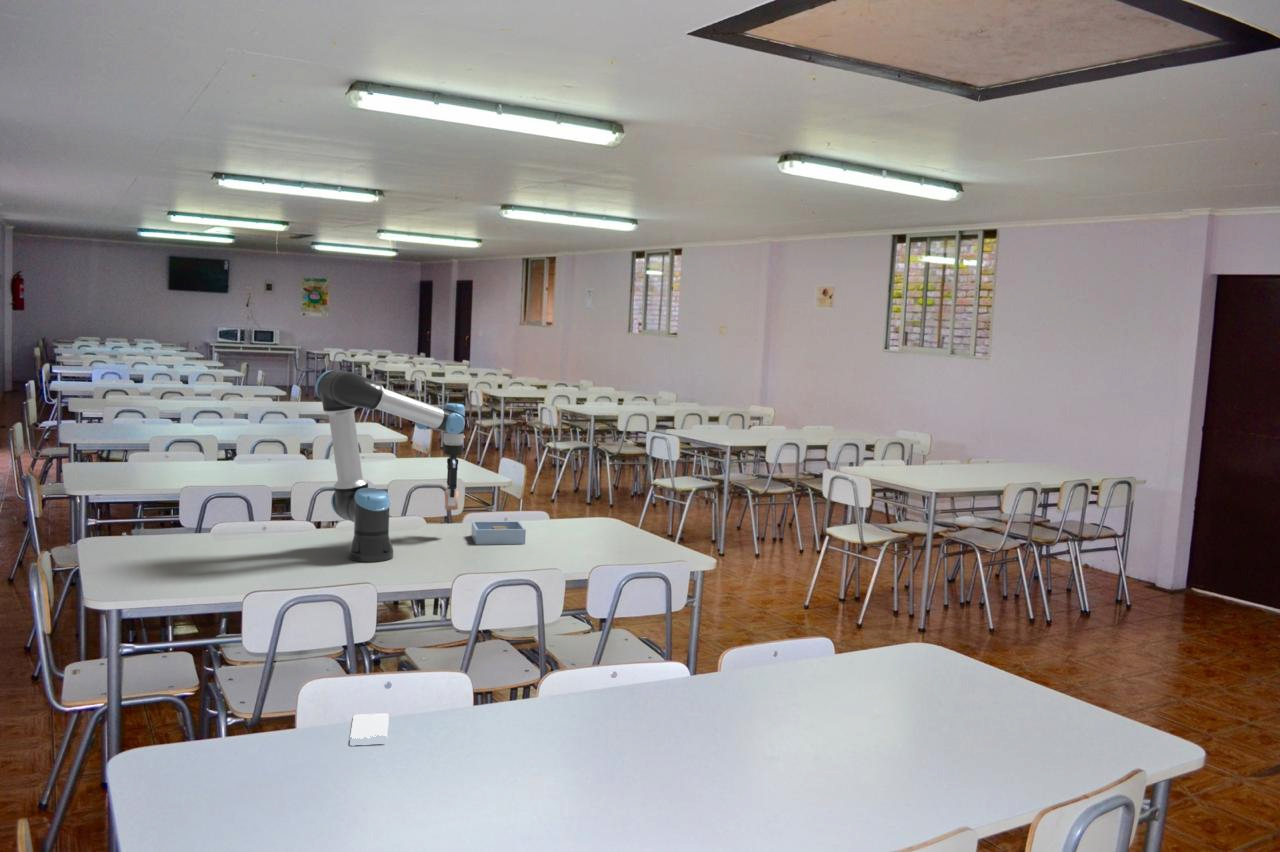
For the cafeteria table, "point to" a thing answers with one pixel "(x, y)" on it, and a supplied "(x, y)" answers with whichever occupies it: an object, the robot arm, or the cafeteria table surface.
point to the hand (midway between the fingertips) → (450, 504)
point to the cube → (499, 527)
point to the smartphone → (369, 725)
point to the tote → (498, 533)
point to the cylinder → (447, 501)
